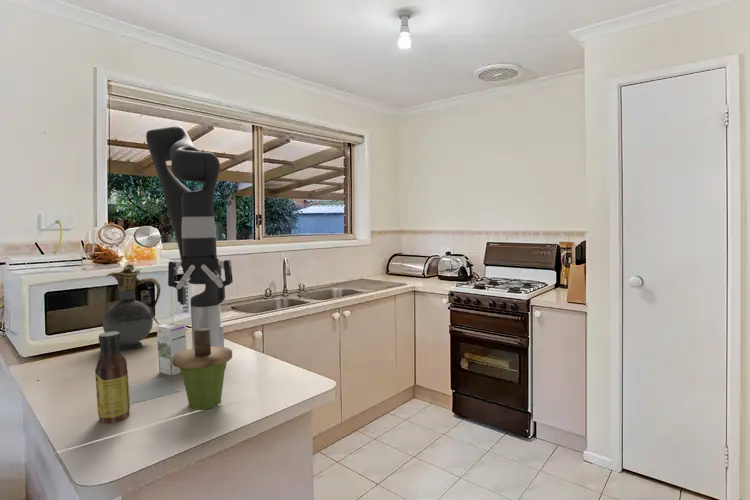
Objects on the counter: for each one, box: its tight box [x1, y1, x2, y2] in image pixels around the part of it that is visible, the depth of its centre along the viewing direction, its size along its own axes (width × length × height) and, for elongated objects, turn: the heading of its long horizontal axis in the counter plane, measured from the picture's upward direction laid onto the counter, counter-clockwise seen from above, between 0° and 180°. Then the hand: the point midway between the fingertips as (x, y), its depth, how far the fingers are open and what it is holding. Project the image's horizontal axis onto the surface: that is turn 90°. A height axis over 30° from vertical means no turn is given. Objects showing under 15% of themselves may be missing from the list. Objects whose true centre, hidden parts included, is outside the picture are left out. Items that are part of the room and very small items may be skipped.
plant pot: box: [180, 362, 227, 411], centre depth 105 cm, size 12×12×11 cm
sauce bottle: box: [94, 331, 131, 424], centre depth 98 cm, size 6×6×20 cm
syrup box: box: [156, 322, 187, 376], centre depth 129 cm, size 6×6×14 cm
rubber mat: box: [129, 377, 180, 405], centre depth 114 cm, size 14×14×1 cm
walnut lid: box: [172, 328, 233, 369], centre depth 105 cm, size 14×14×7 cm
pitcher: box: [102, 263, 161, 351], centre depth 157 cm, size 11×19×30 cm, turn 132°
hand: (202, 303), depth 104 cm, fingers open, 8 cm apart
